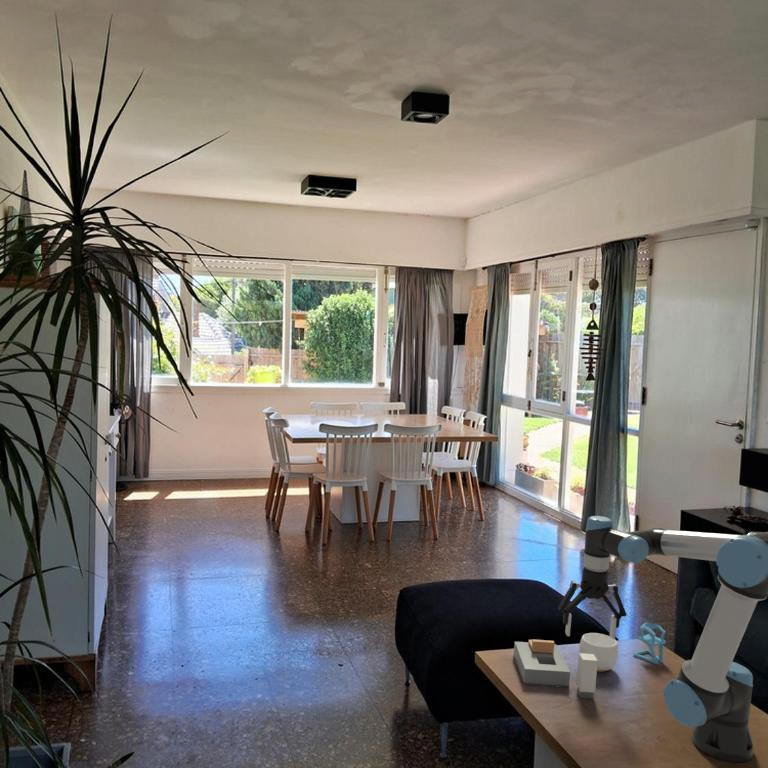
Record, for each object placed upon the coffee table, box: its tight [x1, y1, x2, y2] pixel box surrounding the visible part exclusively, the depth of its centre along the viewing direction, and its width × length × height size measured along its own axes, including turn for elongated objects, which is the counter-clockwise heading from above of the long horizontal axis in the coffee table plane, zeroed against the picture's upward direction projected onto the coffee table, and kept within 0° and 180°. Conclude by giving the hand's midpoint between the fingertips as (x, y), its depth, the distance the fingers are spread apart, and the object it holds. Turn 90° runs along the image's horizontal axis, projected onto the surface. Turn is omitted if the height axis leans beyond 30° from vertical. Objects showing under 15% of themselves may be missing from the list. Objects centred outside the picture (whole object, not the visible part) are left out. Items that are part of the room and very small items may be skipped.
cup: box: [579, 632, 619, 673], centre depth 240 cm, size 12×12×10 cm
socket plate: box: [513, 641, 571, 688], centre depth 236 cm, size 20×14×5 cm
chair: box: [633, 622, 667, 665], centre depth 250 cm, size 8×8×12 cm
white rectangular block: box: [575, 652, 598, 699], centre depth 221 cm, size 4×4×12 cm
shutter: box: [528, 638, 555, 653], centre depth 241 cm, size 7×7×4 cm
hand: (589, 636), depth 221 cm, fingers open, 13 cm apart
